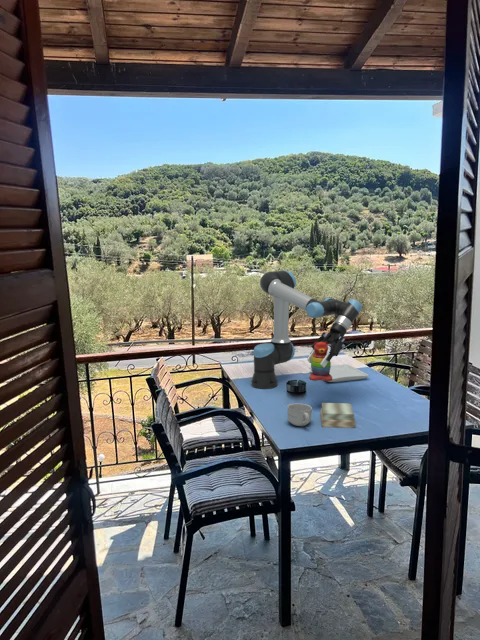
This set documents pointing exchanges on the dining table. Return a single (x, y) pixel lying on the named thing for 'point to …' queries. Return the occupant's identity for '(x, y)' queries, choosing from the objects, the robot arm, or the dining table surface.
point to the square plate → (345, 373)
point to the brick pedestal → (337, 415)
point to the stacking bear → (316, 366)
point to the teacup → (299, 414)
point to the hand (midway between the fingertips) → (315, 363)
